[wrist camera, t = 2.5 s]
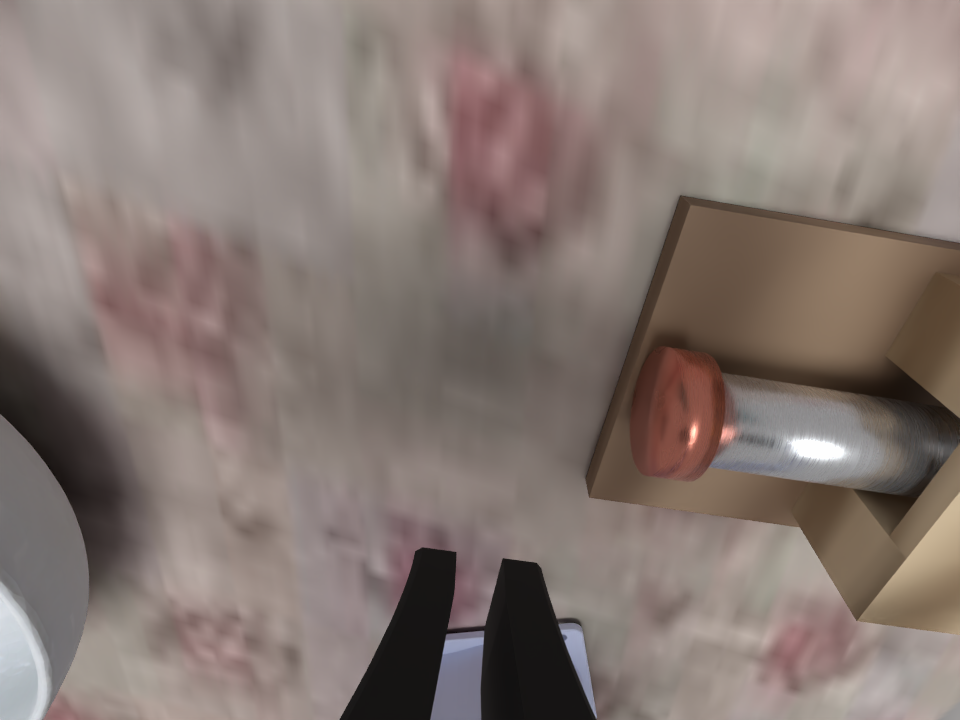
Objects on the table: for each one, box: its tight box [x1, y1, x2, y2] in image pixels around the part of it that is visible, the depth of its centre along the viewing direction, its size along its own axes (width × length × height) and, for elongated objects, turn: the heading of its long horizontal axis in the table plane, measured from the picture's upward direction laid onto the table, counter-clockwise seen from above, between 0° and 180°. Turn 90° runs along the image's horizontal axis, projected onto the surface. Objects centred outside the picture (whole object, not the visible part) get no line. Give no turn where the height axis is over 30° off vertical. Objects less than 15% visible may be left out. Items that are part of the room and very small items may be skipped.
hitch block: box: [586, 196, 960, 635], centre depth 17 cm, size 15×11×6 cm
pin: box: [630, 346, 960, 498], centre depth 17 cm, size 10×4×4 cm, turn 81°
